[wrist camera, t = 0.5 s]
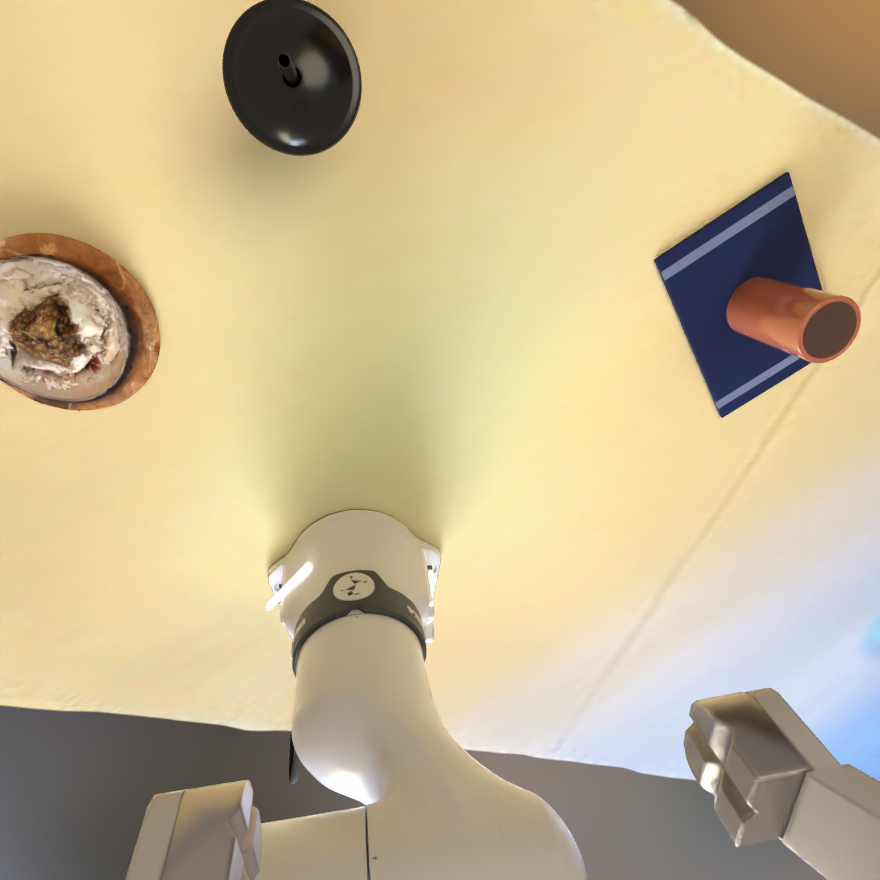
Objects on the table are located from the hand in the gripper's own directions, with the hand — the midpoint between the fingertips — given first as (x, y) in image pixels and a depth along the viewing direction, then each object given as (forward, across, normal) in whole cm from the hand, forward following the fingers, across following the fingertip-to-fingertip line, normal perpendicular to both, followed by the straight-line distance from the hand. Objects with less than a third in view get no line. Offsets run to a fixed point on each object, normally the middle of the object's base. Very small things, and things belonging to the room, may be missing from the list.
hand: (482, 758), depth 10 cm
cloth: (+46, +38, -4) cm, 60 cm away
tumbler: (+45, +38, -4) cm, 59 cm away
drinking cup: (+46, -3, +15) cm, 48 cm away
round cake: (+46, -26, -1) cm, 52 cm away
